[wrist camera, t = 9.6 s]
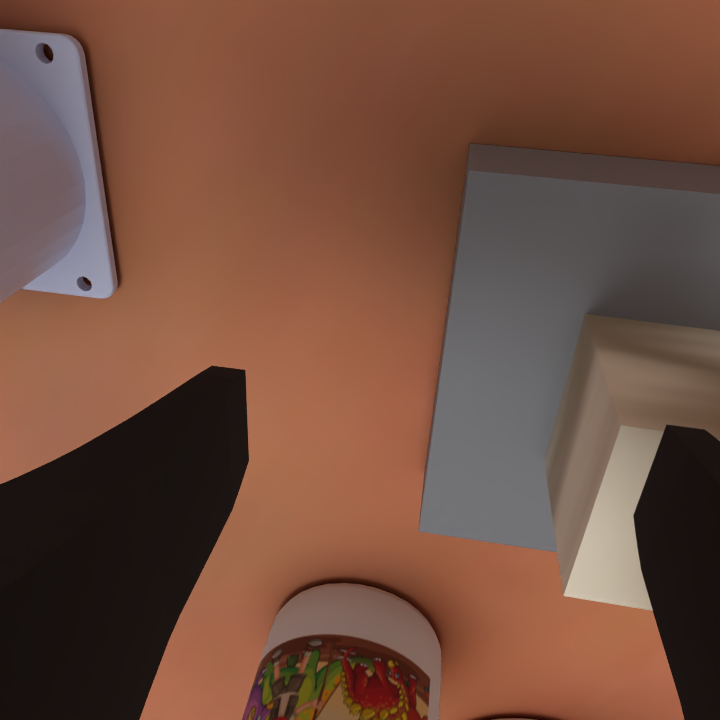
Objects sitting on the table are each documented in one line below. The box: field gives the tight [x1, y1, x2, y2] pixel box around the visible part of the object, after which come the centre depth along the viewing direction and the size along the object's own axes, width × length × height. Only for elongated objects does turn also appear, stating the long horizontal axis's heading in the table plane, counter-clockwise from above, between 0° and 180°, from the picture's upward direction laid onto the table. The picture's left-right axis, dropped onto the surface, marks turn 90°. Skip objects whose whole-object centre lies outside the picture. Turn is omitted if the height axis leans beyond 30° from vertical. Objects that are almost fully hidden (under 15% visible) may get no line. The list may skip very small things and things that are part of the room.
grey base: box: [419, 143, 720, 552], centre depth 20 cm, size 12×12×3 cm
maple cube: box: [544, 314, 720, 611], centre depth 16 cm, size 5×5×5 cm
